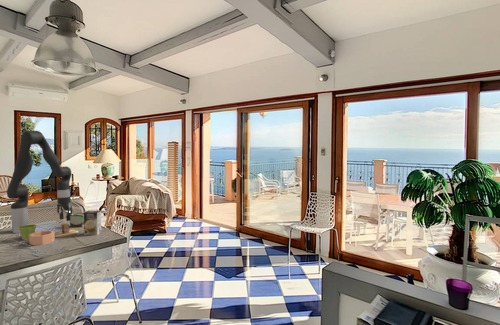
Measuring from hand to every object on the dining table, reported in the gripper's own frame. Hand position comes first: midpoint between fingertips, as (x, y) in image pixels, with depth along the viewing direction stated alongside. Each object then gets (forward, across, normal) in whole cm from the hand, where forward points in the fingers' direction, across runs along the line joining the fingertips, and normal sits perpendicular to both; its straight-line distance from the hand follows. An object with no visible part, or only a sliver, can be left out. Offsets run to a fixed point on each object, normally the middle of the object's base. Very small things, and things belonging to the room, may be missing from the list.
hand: (65, 220), depth 199 cm
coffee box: (+11, +15, +10) cm, 21 cm away
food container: (+11, -14, +17) cm, 25 cm away
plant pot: (+11, -12, -17) cm, 24 cm away
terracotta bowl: (+10, +4, -16) cm, 19 cm away
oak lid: (+10, 0, 0) cm, 10 cm away
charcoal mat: (+10, 0, 0) cm, 11 cm away
